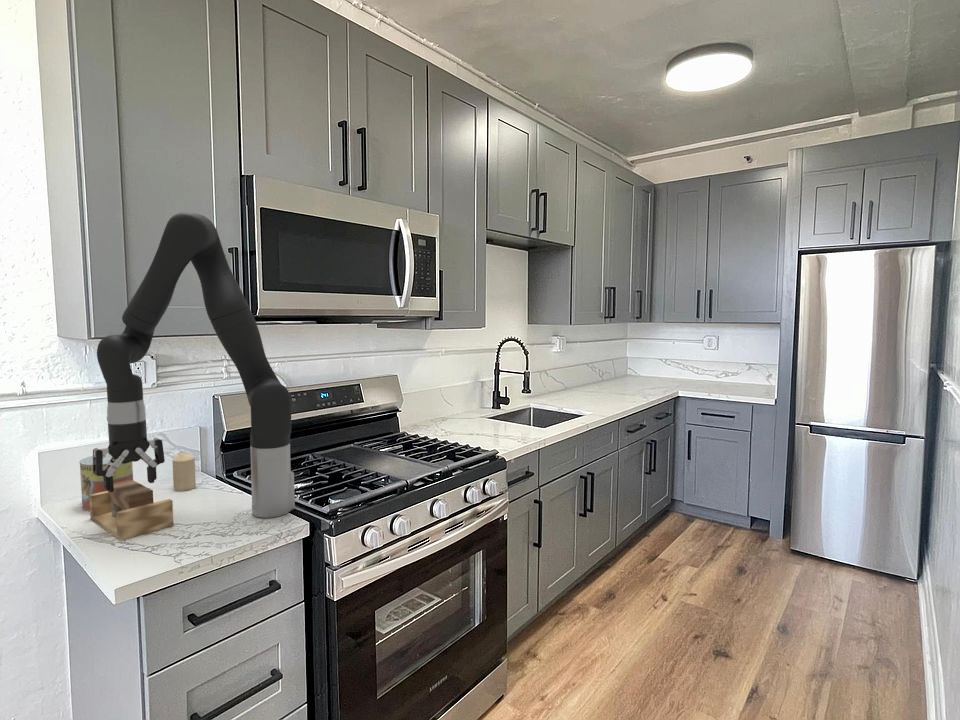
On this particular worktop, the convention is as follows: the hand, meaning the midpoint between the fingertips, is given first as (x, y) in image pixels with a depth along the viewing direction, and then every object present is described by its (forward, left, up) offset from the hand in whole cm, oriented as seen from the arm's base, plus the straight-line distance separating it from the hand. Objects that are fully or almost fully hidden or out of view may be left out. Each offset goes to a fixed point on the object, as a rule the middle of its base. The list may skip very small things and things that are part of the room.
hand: (131, 486), depth 129 cm
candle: (-19, -16, -9) cm, 26 cm away
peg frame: (0, 0, -9) cm, 9 cm away
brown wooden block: (0, 0, -4) cm, 4 cm away
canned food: (-1, -18, -9) cm, 20 cm away
